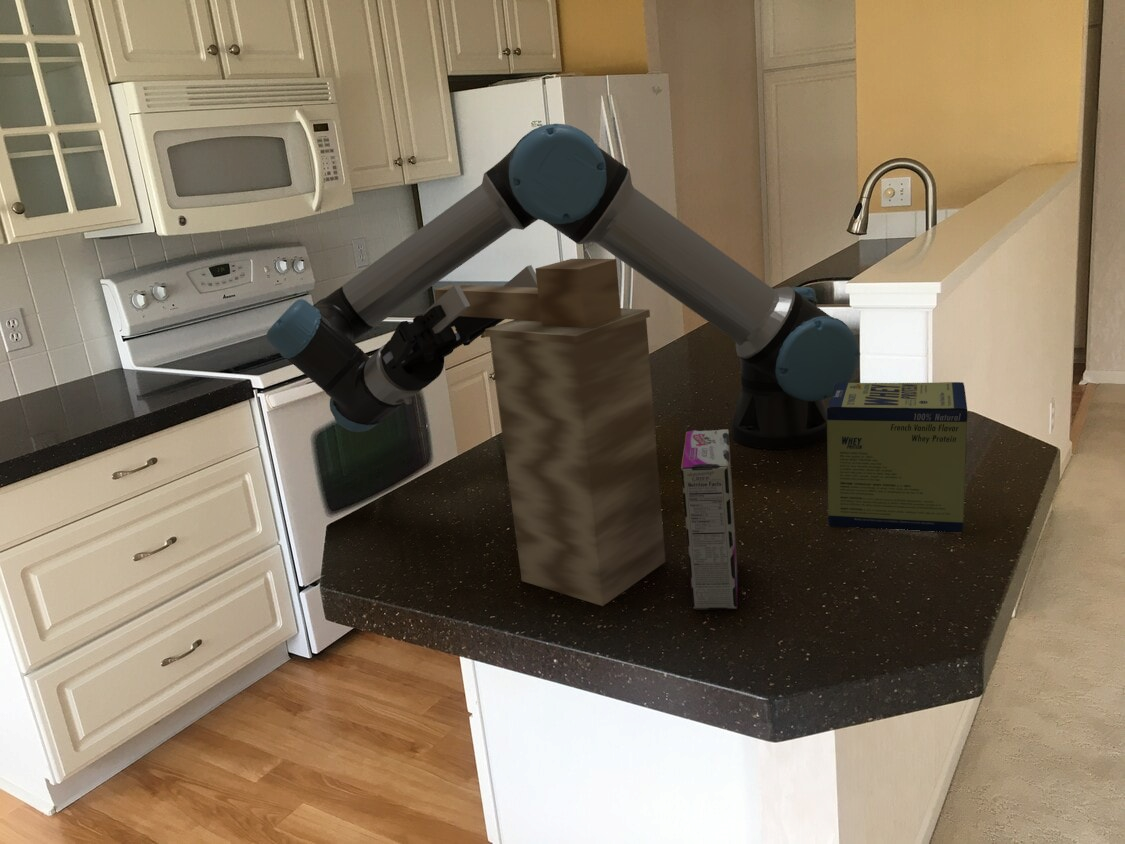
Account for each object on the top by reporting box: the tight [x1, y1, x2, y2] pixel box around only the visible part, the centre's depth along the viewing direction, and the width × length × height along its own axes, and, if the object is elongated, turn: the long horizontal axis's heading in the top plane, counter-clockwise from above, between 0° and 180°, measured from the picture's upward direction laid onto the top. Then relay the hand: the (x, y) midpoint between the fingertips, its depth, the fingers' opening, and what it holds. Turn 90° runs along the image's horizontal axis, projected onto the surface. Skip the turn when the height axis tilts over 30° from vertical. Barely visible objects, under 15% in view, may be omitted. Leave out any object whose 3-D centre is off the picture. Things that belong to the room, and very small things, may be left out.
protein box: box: [826, 381, 968, 533], centre depth 113 cm, size 10×16×16 cm
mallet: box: [433, 258, 622, 328], centre depth 103 cm, size 24×6×6 cm, turn 50°
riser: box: [484, 307, 666, 607], centre depth 104 cm, size 13×13×30 cm
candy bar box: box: [680, 429, 738, 611], centre depth 100 cm, size 11×5×16 cm, turn 170°
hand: (499, 285), depth 105 cm, fingers open, 11 cm apart
